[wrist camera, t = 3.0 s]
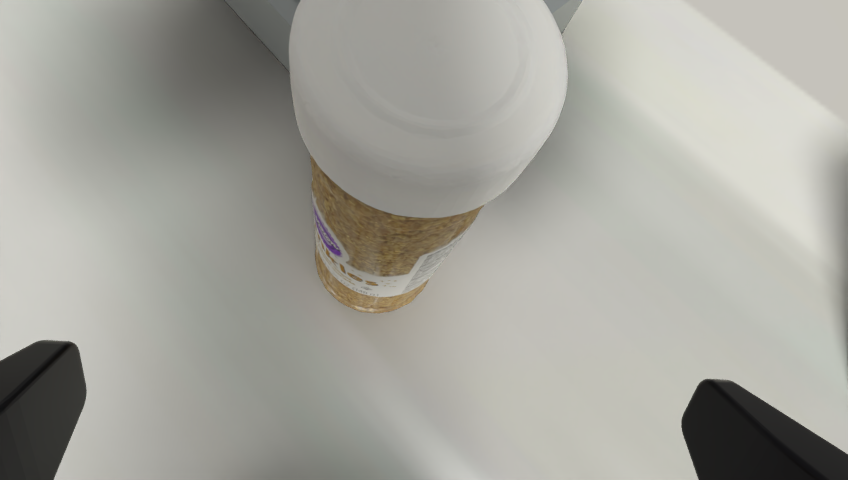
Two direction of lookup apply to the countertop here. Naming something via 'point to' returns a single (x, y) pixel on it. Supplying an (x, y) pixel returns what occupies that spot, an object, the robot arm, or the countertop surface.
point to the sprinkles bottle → (415, 128)
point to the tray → (276, 3)
